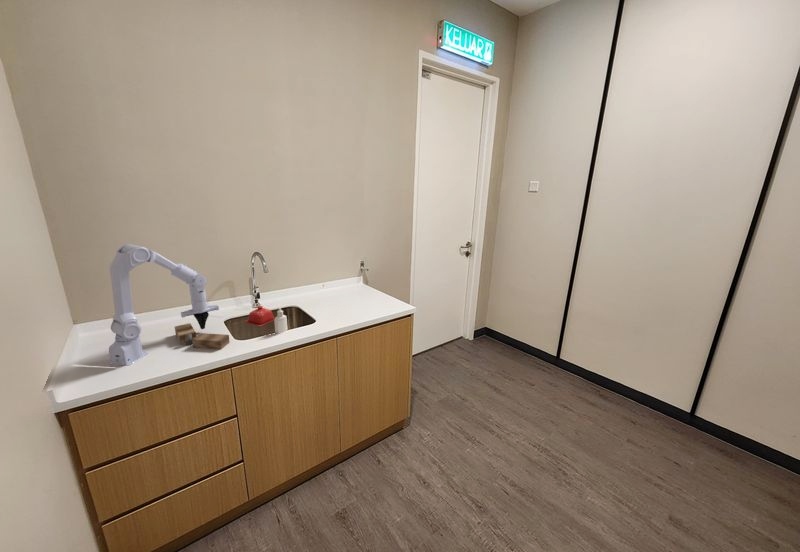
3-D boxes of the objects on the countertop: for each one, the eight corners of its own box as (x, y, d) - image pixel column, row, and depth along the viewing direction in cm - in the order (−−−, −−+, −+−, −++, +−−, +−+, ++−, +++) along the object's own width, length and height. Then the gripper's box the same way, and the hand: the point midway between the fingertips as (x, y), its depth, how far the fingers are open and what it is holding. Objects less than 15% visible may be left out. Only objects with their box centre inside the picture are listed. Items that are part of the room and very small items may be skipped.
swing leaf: (198, 343, 141) (196, 333, 140) (181, 347, 137) (180, 337, 136) (191, 331, 152) (190, 322, 151) (175, 334, 148) (174, 325, 147)
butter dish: (243, 323, 163) (241, 307, 160) (262, 316, 173) (261, 300, 170) (260, 328, 158) (258, 312, 155) (278, 320, 168) (277, 304, 165)
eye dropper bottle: (288, 333, 153) (287, 308, 150) (276, 335, 150) (274, 310, 147) (286, 329, 157) (285, 305, 154) (274, 332, 154) (272, 307, 151)
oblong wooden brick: (229, 343, 142) (228, 334, 141) (221, 350, 136) (220, 341, 135) (202, 341, 143) (201, 333, 142) (193, 348, 137) (192, 339, 136)
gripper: (214, 294, 155) (217, 321, 158) (177, 300, 145) (181, 329, 149) (218, 298, 150) (222, 326, 154) (181, 305, 140) (185, 334, 144)
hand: (202, 328), depth 151 cm, fingers closed
